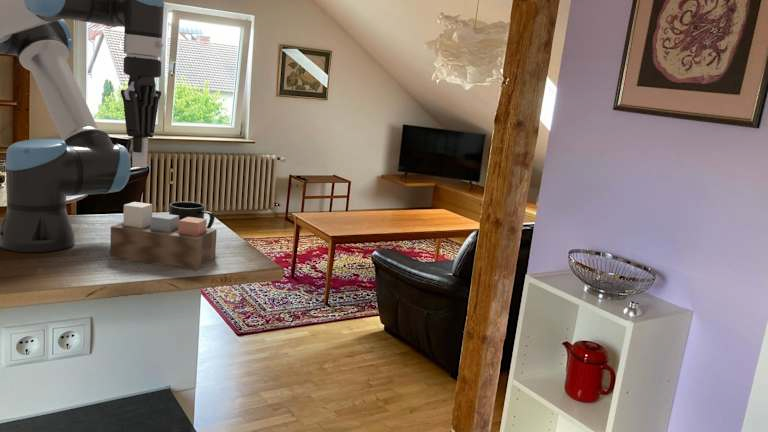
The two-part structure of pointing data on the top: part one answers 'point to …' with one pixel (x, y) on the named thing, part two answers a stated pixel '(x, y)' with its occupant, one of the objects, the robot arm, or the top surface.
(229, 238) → the top surface
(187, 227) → the terracotta key
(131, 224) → the ivory key
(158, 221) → the slate key
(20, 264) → the top surface
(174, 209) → the mug
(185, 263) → the brown wooden block
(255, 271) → the top surface
